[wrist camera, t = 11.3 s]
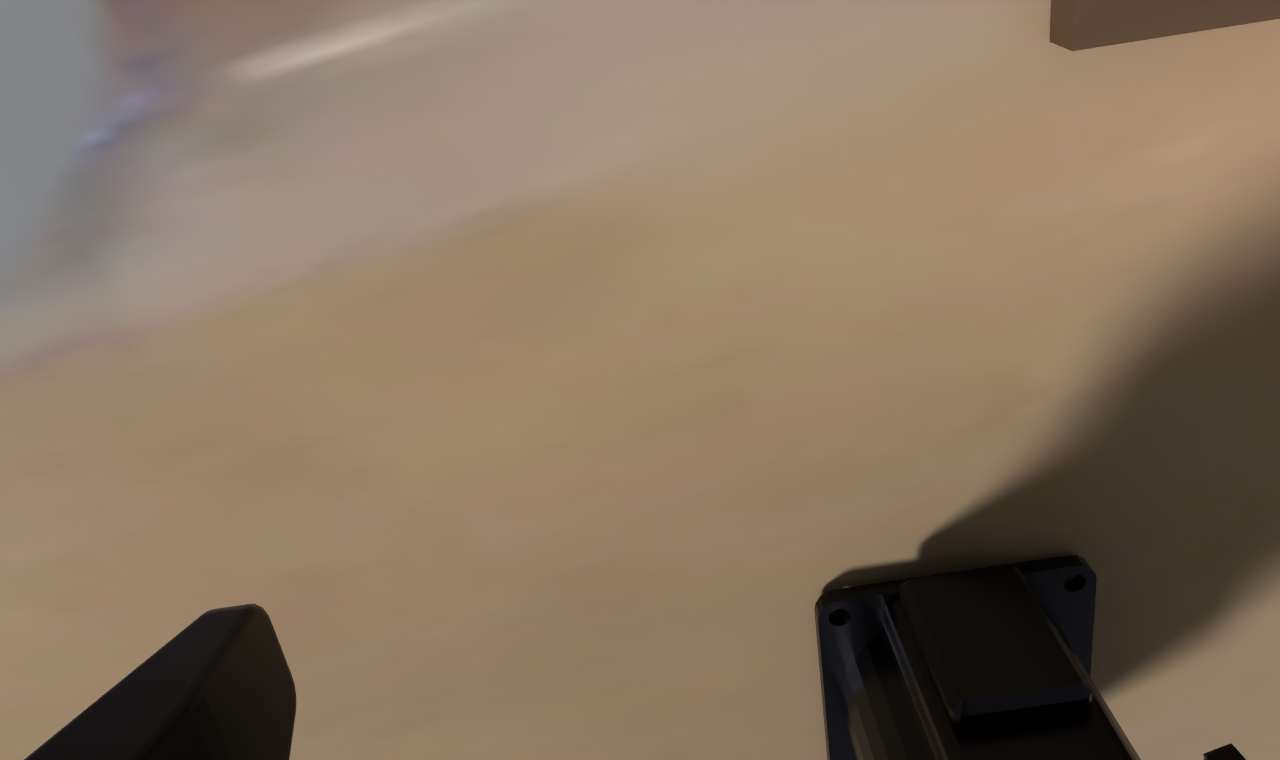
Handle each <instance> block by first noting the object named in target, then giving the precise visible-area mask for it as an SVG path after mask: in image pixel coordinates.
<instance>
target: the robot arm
mask: <svg viewBox="0 0 1280 760" xmlns="http://www.w3.org/2000/svg"><path fill="white" fill-rule="evenodd" d="M1075 574H1078V575H1077V576H1076V577H1075V578H1074V579H1073V580H1070V581H1065V580H1066V579H1067V578H1068V577H1069V576H1072V575H1075ZM1095 594H1096V575H1095V573H1094V571H1093V570H1092V568H1091V567H1090V566H1089V564H1088V563H1087V562H1086V561H1085V559H1084V558H1082V557H1079V556H1072V555H1068V556H1062V557H1055V558H1048V559H1041V560H1034V561H1027V562H1021V563H1014V564H1007V565H1000V566H993V567H987V568H980V569H973V570H966V571H959V572H953V573H946V574H939V575H932V576H925V577H918V578H912V579H905V580H898V581H891V582H884V583H878V584H871V585H864V586H857V587H850V588H844V589H837V590H832V591H829V592H826V593H825V594H823V595H822V596H820V597H819V599H818V600H817V602H816V604H815V620H816V632H817V643H818V655H819V666H820V678H821V689H822V701H823V712H824V724H825V735H826V747H827V759H828V760H1141V759H1140V758H1139V756H1138V755H1137V753H1136V751H1135V750H1134V748H1133V746H1132V745H1131V743H1130V742H1129V740H1128V738H1127V737H1126V735H1125V733H1124V732H1123V730H1122V728H1121V727H1120V725H1119V724H1118V722H1117V720H1116V719H1115V717H1114V715H1113V714H1112V712H1111V711H1110V709H1109V707H1108V706H1107V704H1106V702H1105V701H1104V699H1103V697H1102V696H1101V694H1100V693H1099V691H1098V689H1097V688H1096V686H1095V684H1094V683H1093V681H1092V680H1091V678H1090V669H1091V654H1092V639H1093V624H1094V609H1095ZM837 609H845V610H844V611H843V612H842V613H841V614H838V615H830V614H831V613H832V612H833V611H834V610H837ZM295 714H296V691H295V685H294V681H293V678H292V675H291V672H290V670H289V667H288V664H287V662H286V659H285V657H284V654H283V651H282V649H281V646H280V643H279V641H278V638H277V636H276V633H275V630H274V628H273V625H272V623H271V620H270V618H269V616H268V614H267V613H266V611H265V610H264V609H263V608H262V607H260V606H258V605H256V604H246V605H240V606H233V607H226V608H219V609H213V610H210V611H207V612H206V613H204V614H203V615H201V616H200V617H199V618H198V619H196V620H195V621H194V622H193V623H192V624H190V625H189V626H188V627H187V628H185V629H184V630H183V631H182V632H180V633H179V634H178V635H177V636H176V637H174V638H173V639H172V640H171V641H169V642H168V643H167V644H166V645H164V646H163V647H162V648H161V649H160V650H158V651H157V652H156V653H155V654H153V655H152V656H151V657H150V658H148V659H147V660H146V661H145V662H144V663H142V664H141V665H140V666H139V667H137V668H136V669H135V670H134V671H133V672H131V673H130V674H129V675H128V676H126V677H125V678H124V679H123V680H121V681H120V682H119V683H118V684H117V685H115V686H114V687H113V688H112V689H110V690H109V691H108V692H107V693H105V694H104V695H103V696H102V697H101V698H99V699H98V700H97V701H96V702H94V703H93V704H92V705H91V706H89V707H88V708H87V709H86V710H85V711H83V712H82V713H81V714H80V715H78V716H77V717H76V718H75V719H73V720H72V721H71V722H70V723H69V724H67V725H66V726H65V727H64V728H62V729H61V730H60V731H59V732H57V733H56V734H55V735H54V736H53V737H51V738H50V739H49V740H48V741H46V742H45V743H44V744H43V745H41V746H40V747H39V748H38V749H37V750H35V751H34V752H33V753H32V754H30V755H29V756H28V757H27V758H25V759H24V760H289V757H290V750H291V743H292V736H293V728H294V721H295ZM1203 755H1204V758H1205V759H1204V760H1246V759H1245V758H1244V757H1243V756H1242V755H1241V754H1240V752H1239V751H1238V750H1237V749H1236V748H1235V747H1234V746H1233V745H1232V744H1228V745H1225V746H1223V747H1220V748H1218V749H1215V750H1212V751H1210V752H1207V753H1205V754H1203Z"/></svg>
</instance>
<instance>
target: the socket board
mask: <svg viewBox="0 0 1280 760" xmlns="http://www.w3.org/2000/svg"><path fill="white" fill-rule="evenodd" d="M1274 19H1280V0H1051V20H1050V42H1052V43H1054V44H1057V45H1059V46H1061V47H1064V48H1066V49H1069V50H1071V51H1076V50H1082V49H1089V48H1095V47H1101V46H1108V45H1114V44H1120V43H1127V42H1133V41H1140V40H1146V39H1152V38H1159V37H1165V36H1172V35H1178V34H1184V33H1191V32H1197V31H1203V30H1210V29H1216V28H1223V27H1229V26H1235V25H1242V24H1248V23H1255V22H1261V21H1267V20H1274Z"/></svg>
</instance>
